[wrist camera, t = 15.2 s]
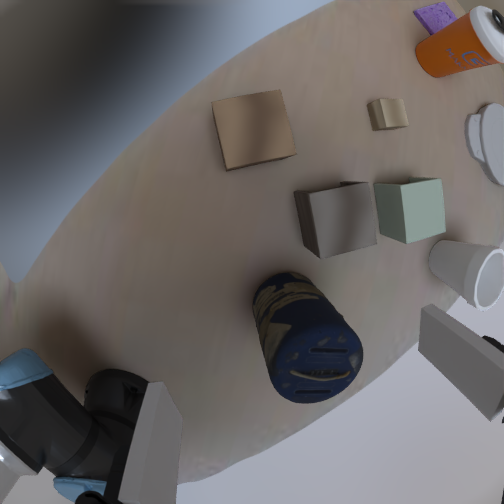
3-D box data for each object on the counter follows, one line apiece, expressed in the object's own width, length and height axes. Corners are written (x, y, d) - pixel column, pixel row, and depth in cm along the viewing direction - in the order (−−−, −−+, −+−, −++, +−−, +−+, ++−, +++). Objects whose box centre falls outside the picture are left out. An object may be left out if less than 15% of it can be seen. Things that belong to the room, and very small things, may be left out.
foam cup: (440, 220, 40) (496, 235, 28) (464, 249, 42) (513, 268, 30) (413, 266, 42) (465, 294, 29) (439, 291, 44) (486, 320, 31)
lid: (458, 90, 35) (468, 88, 32) (509, 115, 37) (518, 114, 34) (465, 180, 40) (476, 181, 37) (513, 189, 41) (523, 190, 38)
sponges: (459, 30, 32) (464, 27, 30) (433, 42, 33) (439, 39, 31) (439, 3, 30) (444, 0, 28) (410, 13, 31) (415, 9, 29)
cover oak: (304, 245, 39) (320, 259, 32) (293, 191, 37) (309, 194, 30) (353, 233, 39) (376, 243, 32) (344, 181, 37) (368, 182, 31)
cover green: (380, 233, 40) (406, 244, 33) (373, 183, 38) (400, 185, 31) (417, 223, 40) (445, 231, 33) (412, 176, 38) (441, 178, 31)
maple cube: (372, 130, 36) (386, 126, 32) (366, 104, 35) (379, 98, 31) (393, 129, 36) (408, 126, 32) (388, 104, 35) (402, 99, 31)
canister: (269, 258, 39) (307, 319, 21) (327, 283, 41) (390, 348, 23) (240, 317, 41) (253, 404, 23) (297, 337, 42) (336, 420, 25)
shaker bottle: (406, 32, 32) (480, -11, 13) (442, 46, 33) (515, 16, 13) (416, 76, 34) (502, 43, 15) (451, 87, 35) (533, 67, 16)
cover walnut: (226, 171, 36) (227, 168, 29) (213, 116, 34) (211, 102, 27) (283, 159, 36) (296, 154, 29) (270, 105, 34) (280, 89, 27)
